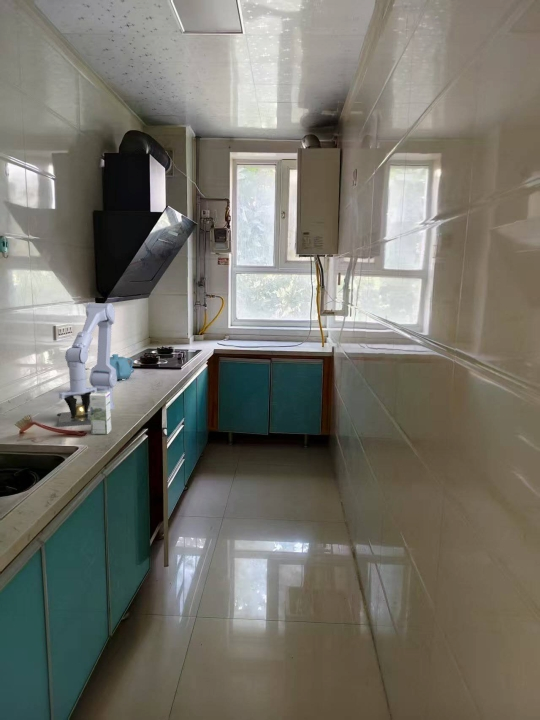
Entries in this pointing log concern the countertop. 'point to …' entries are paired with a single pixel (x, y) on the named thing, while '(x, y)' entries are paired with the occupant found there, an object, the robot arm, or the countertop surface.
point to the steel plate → (73, 420)
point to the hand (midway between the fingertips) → (79, 413)
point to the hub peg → (80, 411)
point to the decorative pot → (121, 366)
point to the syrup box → (100, 412)
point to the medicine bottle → (88, 372)
